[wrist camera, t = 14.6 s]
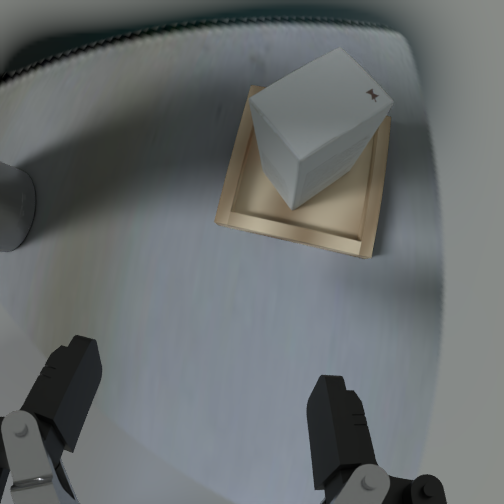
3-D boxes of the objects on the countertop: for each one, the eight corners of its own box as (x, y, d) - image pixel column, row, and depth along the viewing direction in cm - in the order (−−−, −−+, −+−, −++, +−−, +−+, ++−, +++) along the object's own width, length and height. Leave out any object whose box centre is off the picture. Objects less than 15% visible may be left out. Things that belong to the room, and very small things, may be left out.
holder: (218, 225, 26) (214, 221, 24) (252, 96, 27) (251, 85, 25) (364, 259, 25) (371, 258, 23) (384, 126, 26) (391, 117, 24)
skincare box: (318, 132, 26) (342, 43, 14) (350, 171, 25) (399, 102, 13) (258, 171, 26) (244, 96, 14) (290, 213, 25) (301, 165, 13)
